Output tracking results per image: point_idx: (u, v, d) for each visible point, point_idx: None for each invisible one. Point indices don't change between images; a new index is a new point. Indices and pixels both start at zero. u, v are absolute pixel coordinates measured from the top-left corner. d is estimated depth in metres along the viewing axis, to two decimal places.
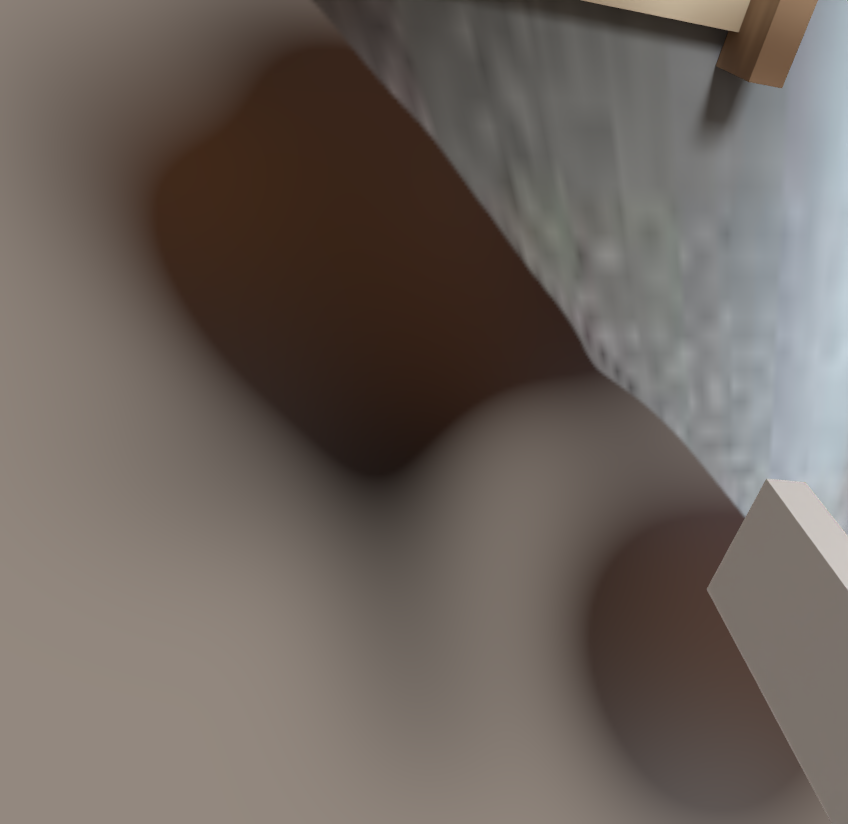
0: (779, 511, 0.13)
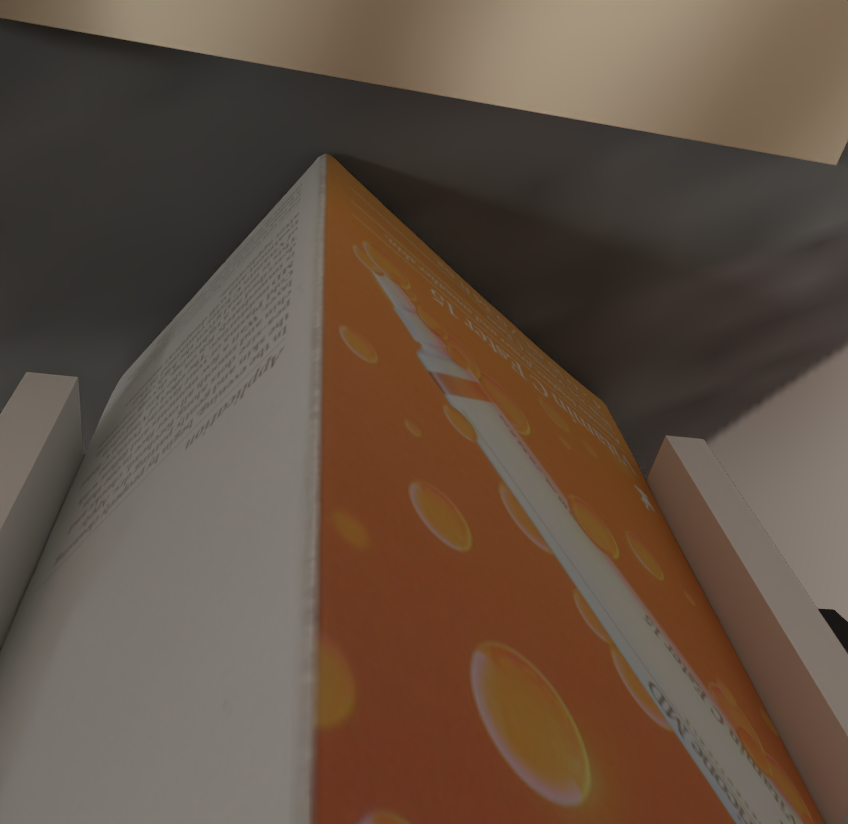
0: (674, 465, 0.13)
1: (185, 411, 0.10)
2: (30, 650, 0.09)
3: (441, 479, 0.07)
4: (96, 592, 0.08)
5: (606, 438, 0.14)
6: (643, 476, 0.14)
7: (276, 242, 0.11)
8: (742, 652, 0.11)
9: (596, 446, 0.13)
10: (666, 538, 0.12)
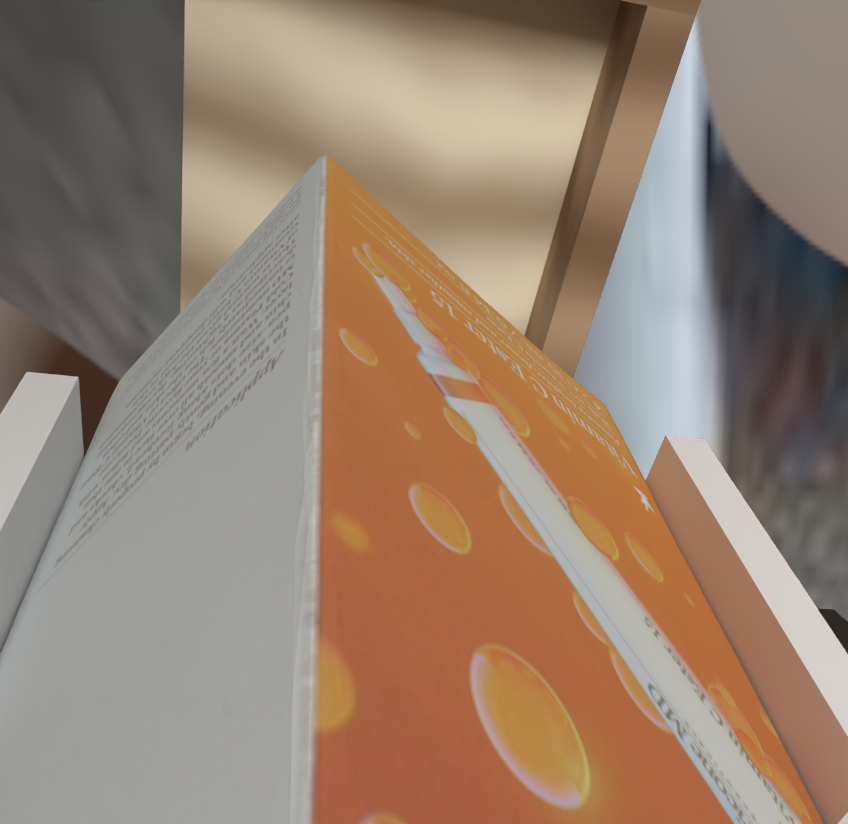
0: (674, 465, 0.13)
1: (186, 413, 0.10)
2: (31, 652, 0.09)
3: (441, 481, 0.07)
4: (97, 594, 0.08)
5: (606, 439, 0.14)
6: None
7: (276, 244, 0.11)
8: (742, 652, 0.11)
9: (596, 447, 0.13)
10: (666, 539, 0.13)
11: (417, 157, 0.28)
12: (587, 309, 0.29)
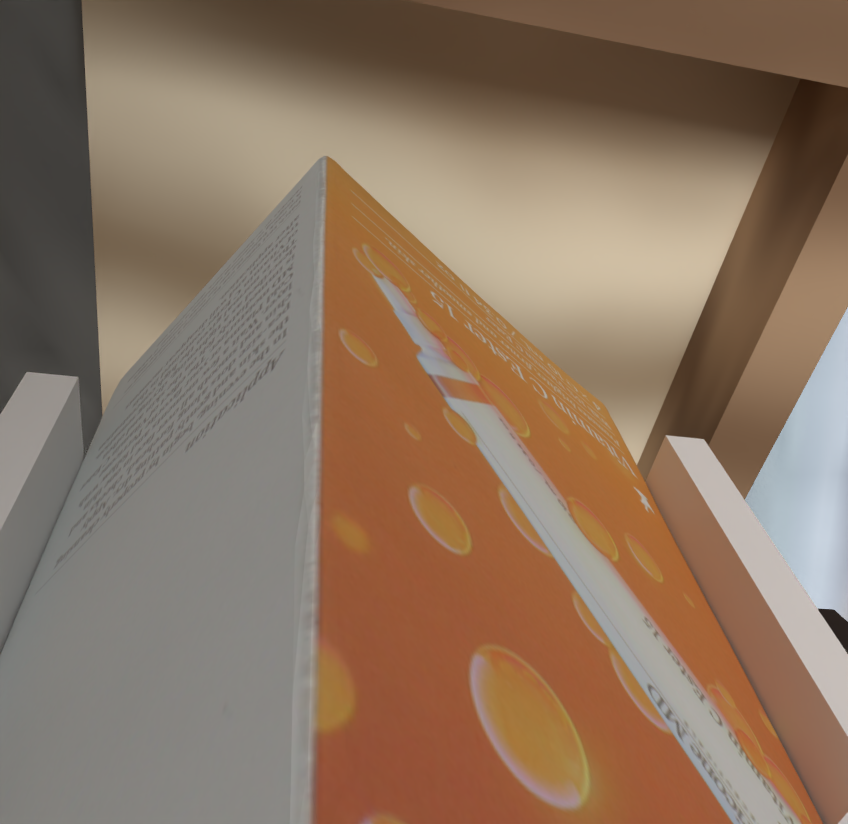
0: (674, 465, 0.13)
1: (186, 414, 0.10)
2: (31, 652, 0.09)
3: (440, 482, 0.07)
4: (97, 595, 0.08)
5: (605, 440, 0.14)
6: (642, 478, 0.14)
7: (276, 245, 0.11)
8: (742, 651, 0.11)
9: (595, 448, 0.13)
10: (665, 540, 0.13)
11: None
12: None
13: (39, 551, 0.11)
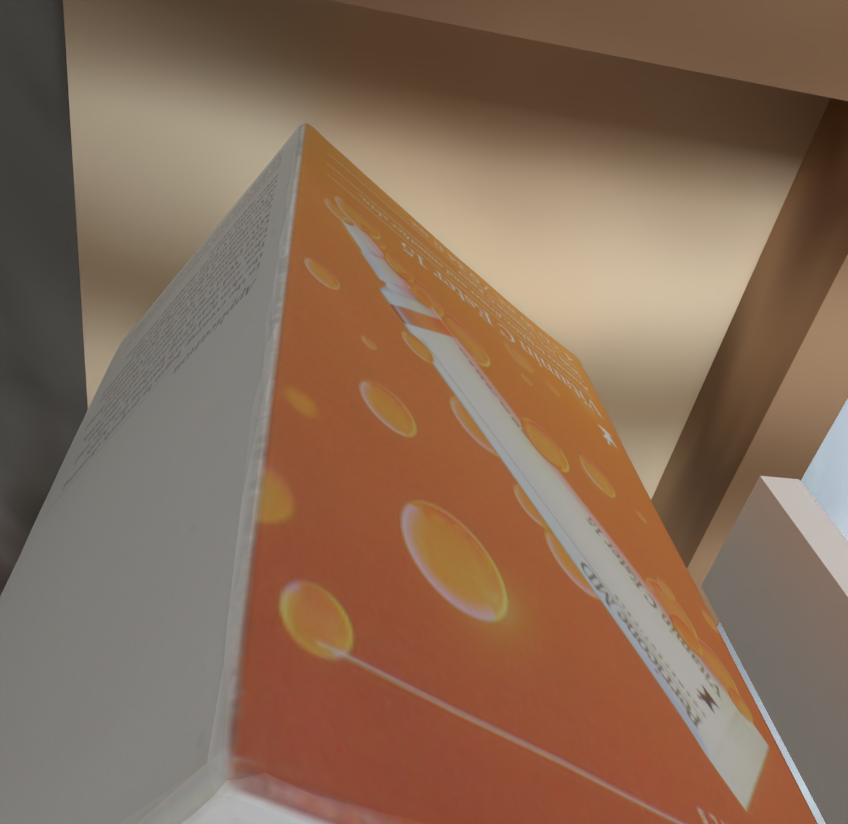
0: (772, 508, 0.13)
1: (175, 346, 0.11)
2: (41, 553, 0.10)
3: (392, 383, 0.08)
4: (98, 494, 0.09)
5: (573, 384, 0.15)
6: None
7: (258, 201, 0.13)
8: None
9: (561, 388, 0.14)
10: (625, 469, 0.14)
11: None
12: None
13: None
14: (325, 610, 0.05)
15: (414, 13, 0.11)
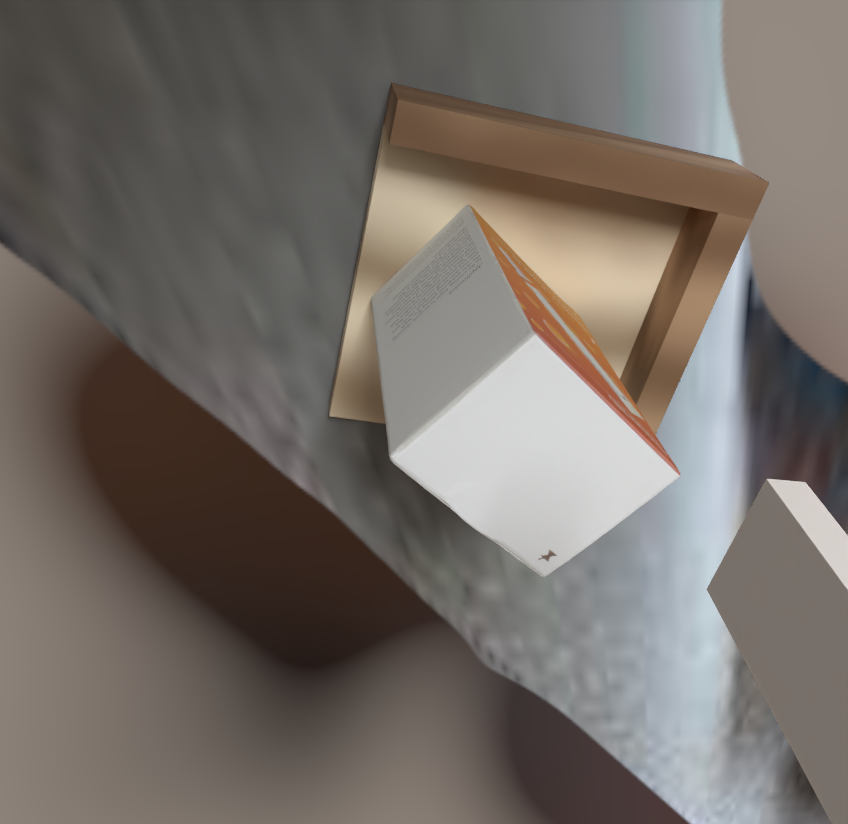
0: (778, 511, 0.13)
1: (441, 287, 0.30)
2: (403, 353, 0.29)
3: (529, 295, 0.28)
4: (430, 330, 0.28)
5: (578, 321, 0.34)
6: (593, 338, 0.35)
7: (458, 236, 0.32)
8: None
9: (573, 319, 0.33)
10: (600, 352, 0.33)
11: None
12: (654, 420, 0.38)
13: None
14: (537, 324, 0.24)
15: (526, 171, 0.31)
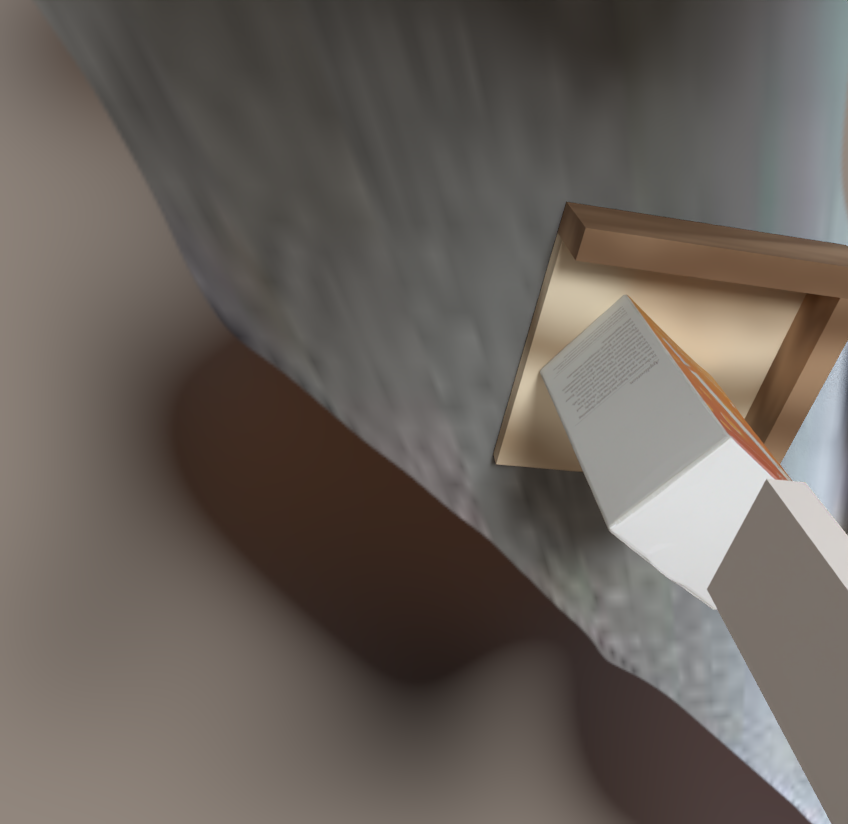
0: (779, 511, 0.13)
1: (619, 376, 0.37)
2: (595, 433, 0.36)
3: (701, 387, 0.34)
4: (619, 415, 0.35)
5: (717, 386, 0.41)
6: (730, 400, 0.41)
7: (624, 327, 0.38)
8: None
9: (716, 388, 0.40)
10: (741, 416, 0.39)
11: None
12: None
13: None
14: (725, 424, 0.31)
15: (684, 275, 0.37)
